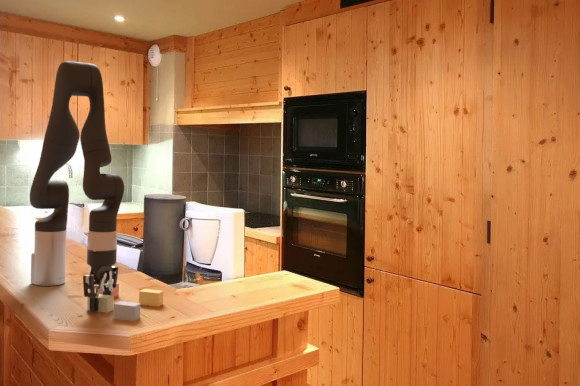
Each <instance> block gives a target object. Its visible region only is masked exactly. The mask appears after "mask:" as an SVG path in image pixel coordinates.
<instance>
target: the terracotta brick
mask: <svg viewBox="0 0 580 386" xmlns="http://www.w3.org/2000/svg"><path fill="white" fill-rule="evenodd" d="M95 286H98V285H95ZM103 292H104V291H103V288H102V290H100V293H99V294H102V295H103ZM119 292H120V283H118V282H117V285H116V288H113V291H112V292H111V296H114V298H117V297H119V295H120V294H119Z"/></svg>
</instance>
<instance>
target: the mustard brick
mask: <svg viewBox="0 0 580 386" xmlns="http://www.w3.org/2000/svg"><path fill="white" fill-rule="evenodd" d="M138 295H139V296H138V303H140V306H147V305H149V307H156V306H159V307H161V306H162V305H163V304H164V290H159V289H152V288H151V289H150V288H143V289H141V290H139V292H138Z"/></svg>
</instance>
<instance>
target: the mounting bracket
mask: <svg viewBox="0 0 580 386" xmlns="http://www.w3.org/2000/svg"><path fill="white" fill-rule="evenodd" d="M179 286H181V287H182V288H190V287H199V286H201V284H199V283H193V282H188V281H187V282H183V283H180V284H179Z"/></svg>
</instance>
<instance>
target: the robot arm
mask: <svg viewBox="0 0 580 386" xmlns="http://www.w3.org/2000/svg"><path fill="white" fill-rule="evenodd" d="M103 82H104V81H103V77H102V73H101V69H100V68H99V66H97V65H96V64H94V63H88V62H79V61H69V60H66V61H62V62H61V63H60V64H59V65H58V68H57V70H56V76H55V81H54V91H53V97H52V103H51V104H52V105H51V108H50V109H51V110H50V113H49V114H50V115H49V118H48V121H47V122H48V123H47V127H46V129H45V133H44V138H43V143H42V148H41V153H40V157H39V163H38V165H37V169H36V171H35V174H34V177H33V180H32V184H31V186H30V191H29V203H30V205H31V207H33V208H35V209H37V210H39V209H40V210H47V209H48V210H49V209H50V210H53V211H52V213H51V214H49V215H47V216H46V217H43V218H41V219H38V220H36V221H35V223H34V249H33V250H34V251H33V253H31V256H30V259H31V260H30V261H31V262H30V284H33V285H35V286H41V287H50V286H51V287H53V286H59V285H63V284H65V282H66V263H67V262H66V257H67V256H66V255H67V225H68V214H69V212H68V210H69V202H70V201H69V200H70V188H69V184H68V182H67V181H66V180H64V179H63V180H61V179H52V177H53V176H54V174H55V173H56V172H57V171H58V170H60V169H62V167H64V166H65V165H66V164H67V163H68V162H69V161H70V160H72V158H73V157H74V156H75V154H76V152H77V147H78V144H79V140H80V146H81V150H82V156H83V160H84V163H83V177H82V190H83V193H84V195H85V196H86V197H87V198H88V199H89V200H91V201H103V202H102V204H101V205H100V206H99V207H96V208H93V209H91V210H90V211H89V215H88V235H87V246H86V247H87V248H86V249H87V251H86V264H87V265H88V266H89V267H90V272H89V274H84V275H82V284H83V286H82V287H83V296H84V297H86V298H88V297H89V298H90V305H89V308H90V309H89V310H90V311H89V312H93V313H96V312H97V311H98V306H99V298H98V297H99V293H100V290H102V288H103V291H104V292H103V295H111V292H112V291H113V288H116V285H117V283H118V276H119V275H118V274H119V267H118V266H115V265H116V264H117V255H118V254H117V253H118V252H117V250H118V235H117V222H118V221H117V217H118V213H119V210H120V207H121V204H122V200H123V197H124V193H125V183H124V181H123V178H122V177H121V176H120V175H118V174H117V173H101V168H103V167H107V166H108V165H110V164H112V163H111V162H112V161H113V160H112V152H111V150H110V145H109V140H108V135H107V129H106V127H107V126H106V110H105V98H104V97H105V96H104V83H103ZM73 96H75V97H87V98H88V101H89V111H88V115H87V117H86V119H85V121H84V123H83V125H82V128H81V131H80V130H79V126H78V125H77V122H76V120H75V118H74V117H73V115H72V112H71V110H70V101H71V100H70V99H71V98H72V97H73ZM96 285H98V286H96ZM97 313H98V312H97Z"/></svg>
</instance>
